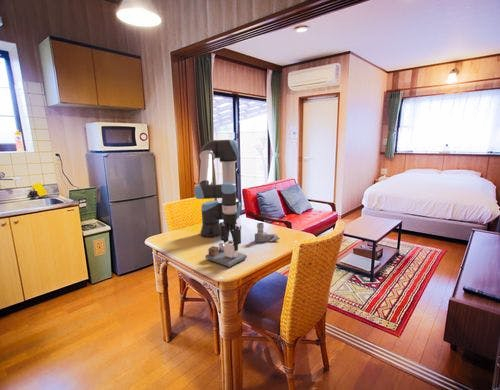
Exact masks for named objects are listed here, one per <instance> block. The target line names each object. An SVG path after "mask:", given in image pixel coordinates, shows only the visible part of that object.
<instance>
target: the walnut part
mask: <svg viewBox="0 0 500 390" xmlns="http://www.w3.org/2000/svg"><path fill="white" fill-rule="evenodd" d="M207 252H208V254H209V256H214V257H215V256H217V255H218V254H219V246H215V245H213V246H210V247H208V249H207Z"/></svg>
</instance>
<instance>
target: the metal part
mask: <svg viewBox="0 0 500 390" xmlns="http://www.w3.org/2000/svg"><path fill="white" fill-rule="evenodd" d="M218 247H219V252H224V242H222V243H221V242H220V243H219V244H218Z"/></svg>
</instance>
